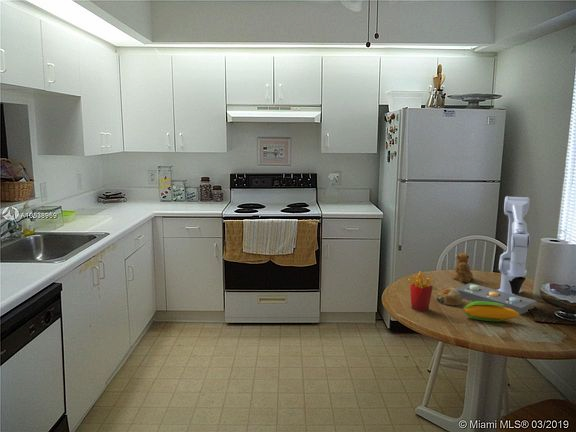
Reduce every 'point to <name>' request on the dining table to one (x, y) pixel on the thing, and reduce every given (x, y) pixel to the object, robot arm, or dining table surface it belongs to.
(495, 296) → the orange button
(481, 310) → the corn
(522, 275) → the robot arm
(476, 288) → the green button
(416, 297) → the french fries
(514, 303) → the button console
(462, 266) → the stuffed squirrel
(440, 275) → the dining table surface
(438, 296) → the bread roll
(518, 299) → the blue button
